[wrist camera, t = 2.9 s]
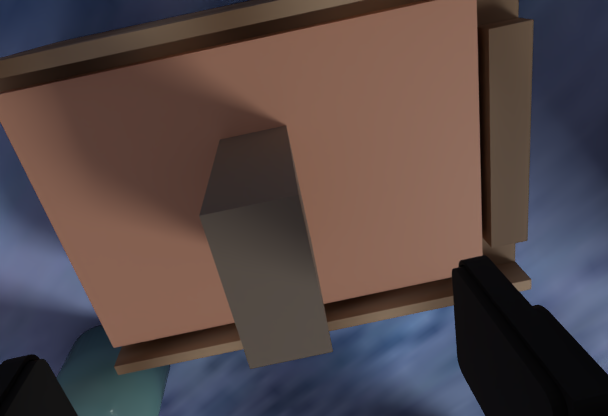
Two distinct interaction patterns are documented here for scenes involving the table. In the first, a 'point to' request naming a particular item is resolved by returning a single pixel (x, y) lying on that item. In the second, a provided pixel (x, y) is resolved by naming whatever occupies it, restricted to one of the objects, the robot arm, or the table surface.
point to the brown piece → (263, 175)
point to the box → (298, 13)
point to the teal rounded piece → (108, 380)
